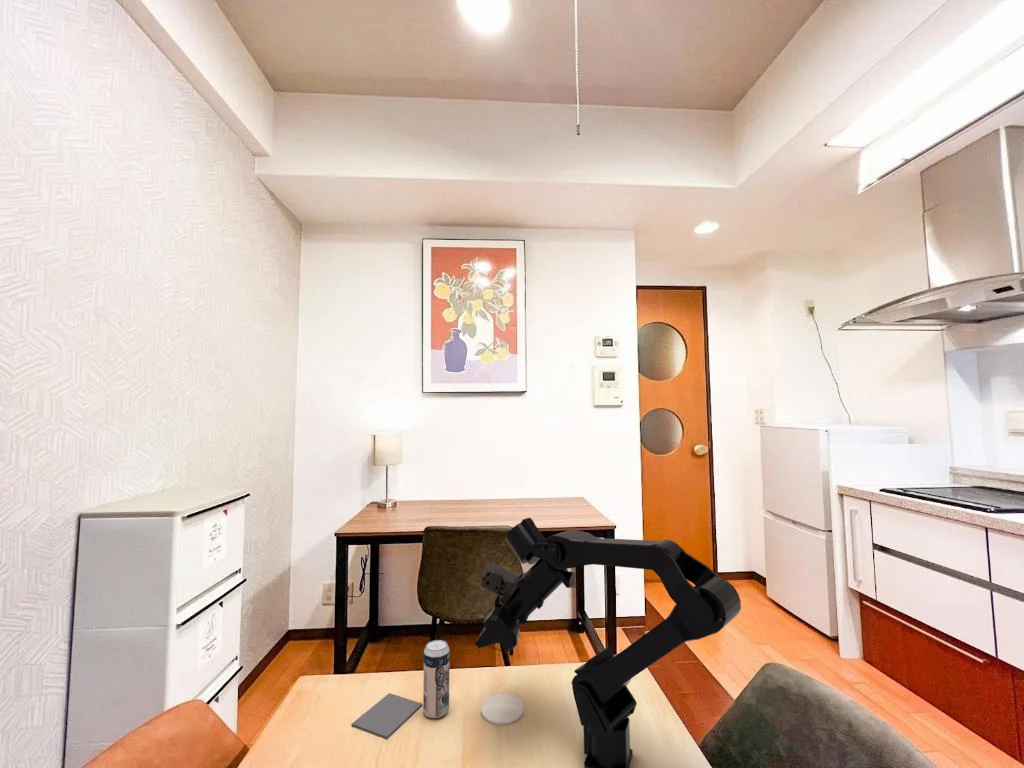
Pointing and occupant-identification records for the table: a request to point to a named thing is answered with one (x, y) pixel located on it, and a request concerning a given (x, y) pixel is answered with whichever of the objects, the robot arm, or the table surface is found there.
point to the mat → (387, 715)
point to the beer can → (436, 679)
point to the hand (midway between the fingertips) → (478, 642)
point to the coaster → (501, 709)
